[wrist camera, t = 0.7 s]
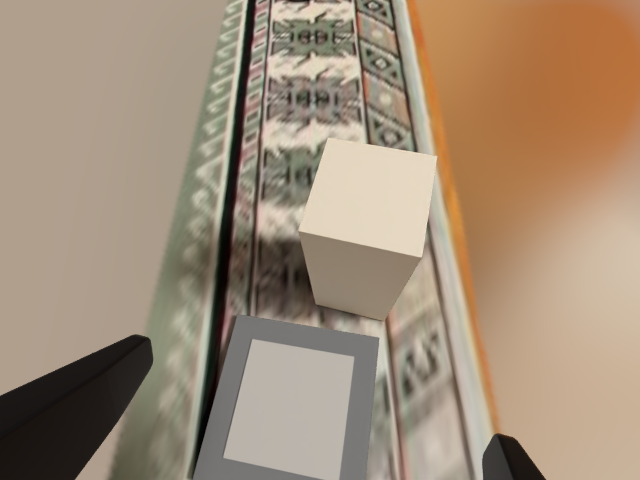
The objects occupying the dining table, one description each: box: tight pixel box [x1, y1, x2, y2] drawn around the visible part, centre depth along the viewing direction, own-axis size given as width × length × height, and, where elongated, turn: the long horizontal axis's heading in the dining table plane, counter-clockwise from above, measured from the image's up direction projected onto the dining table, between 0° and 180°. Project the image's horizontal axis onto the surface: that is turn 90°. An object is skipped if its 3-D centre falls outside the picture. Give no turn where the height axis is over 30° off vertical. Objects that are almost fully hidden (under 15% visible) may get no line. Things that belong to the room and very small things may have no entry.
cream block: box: [298, 138, 437, 321], centre depth 20 cm, size 5×5×12 cm
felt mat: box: [193, 314, 379, 480], centre depth 22 cm, size 10×10×1 cm
